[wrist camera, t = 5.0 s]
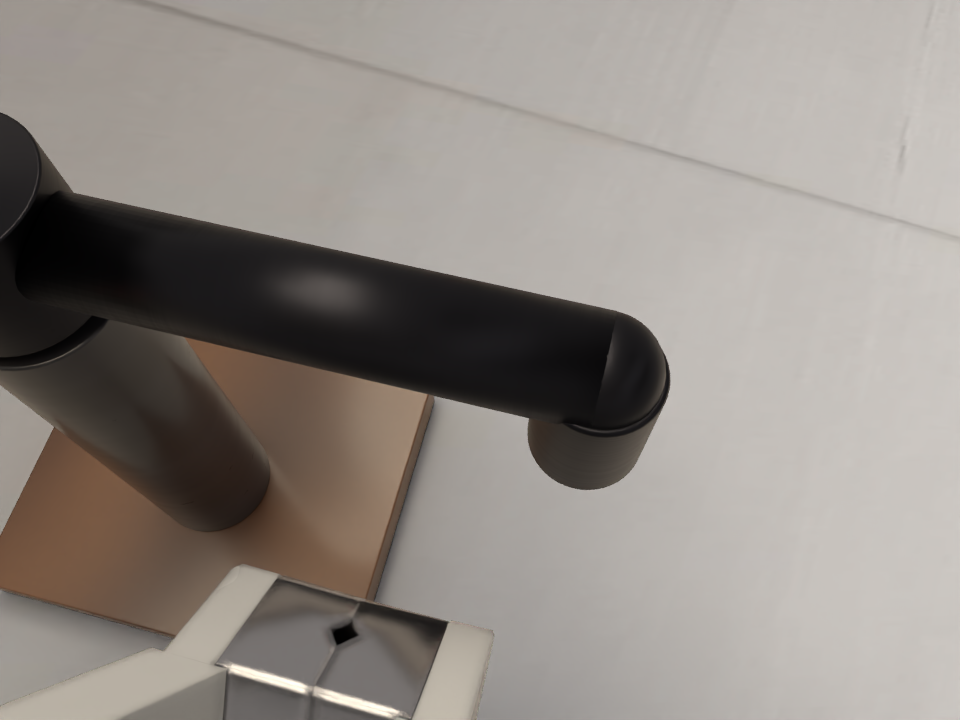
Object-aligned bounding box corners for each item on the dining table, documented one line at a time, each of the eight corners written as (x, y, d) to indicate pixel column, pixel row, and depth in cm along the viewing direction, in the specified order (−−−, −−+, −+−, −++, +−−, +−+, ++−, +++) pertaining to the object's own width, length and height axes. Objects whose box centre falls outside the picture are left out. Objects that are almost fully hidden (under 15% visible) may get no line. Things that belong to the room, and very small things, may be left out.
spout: (-60, 364, 17) (-218, 249, 14) (19, 228, 19) (-104, 88, 15) (625, 534, 16) (668, 459, 12) (655, 370, 17) (703, 255, 13)
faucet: (1, 590, 28) (-395, 449, 16) (127, 327, 32) (-105, 47, 20) (348, 687, 27) (222, 618, 14) (434, 400, 31) (396, 148, 18)
